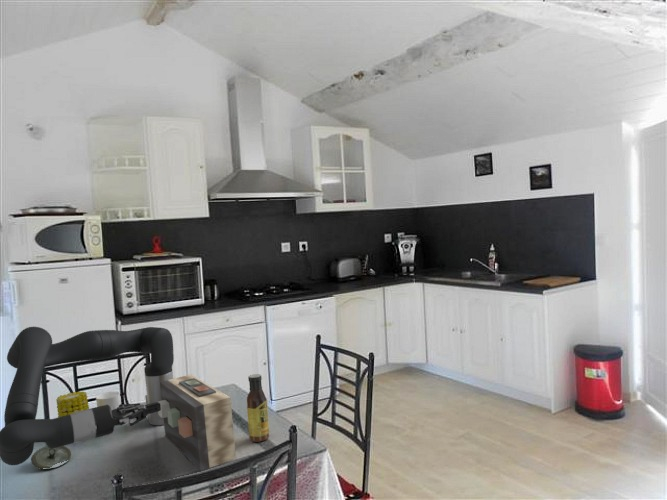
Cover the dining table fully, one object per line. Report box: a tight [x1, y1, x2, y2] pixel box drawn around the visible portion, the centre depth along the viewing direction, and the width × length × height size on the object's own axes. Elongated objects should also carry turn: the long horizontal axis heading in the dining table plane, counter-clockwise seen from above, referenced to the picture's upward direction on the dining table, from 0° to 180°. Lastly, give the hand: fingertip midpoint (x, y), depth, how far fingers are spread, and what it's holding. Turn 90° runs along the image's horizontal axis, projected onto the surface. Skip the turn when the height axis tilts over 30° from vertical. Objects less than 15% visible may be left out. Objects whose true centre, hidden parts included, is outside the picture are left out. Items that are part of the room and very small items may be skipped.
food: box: [55, 391, 90, 418], centre depth 175 cm, size 15×12×10 cm
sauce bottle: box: [246, 373, 270, 443], centre depth 161 cm, size 6×6×20 cm
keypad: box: [160, 374, 237, 472], centre depth 158 cm, size 10×32×19 cm, turn 35°
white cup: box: [95, 390, 122, 410], centre depth 185 cm, size 8×8×10 cm
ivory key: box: [158, 400, 170, 418], centre depth 162 cm, size 2×4×4 cm, turn 35°
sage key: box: [167, 408, 180, 427], centre depth 154 cm, size 2×4×4 cm, turn 35°
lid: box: [30, 445, 72, 470], centre depth 155 cm, size 11×10×5 cm
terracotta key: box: [178, 417, 193, 438], centre depth 146 cm, size 2×4×4 cm, turn 35°
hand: (159, 406), depth 142 cm, fingers closed
